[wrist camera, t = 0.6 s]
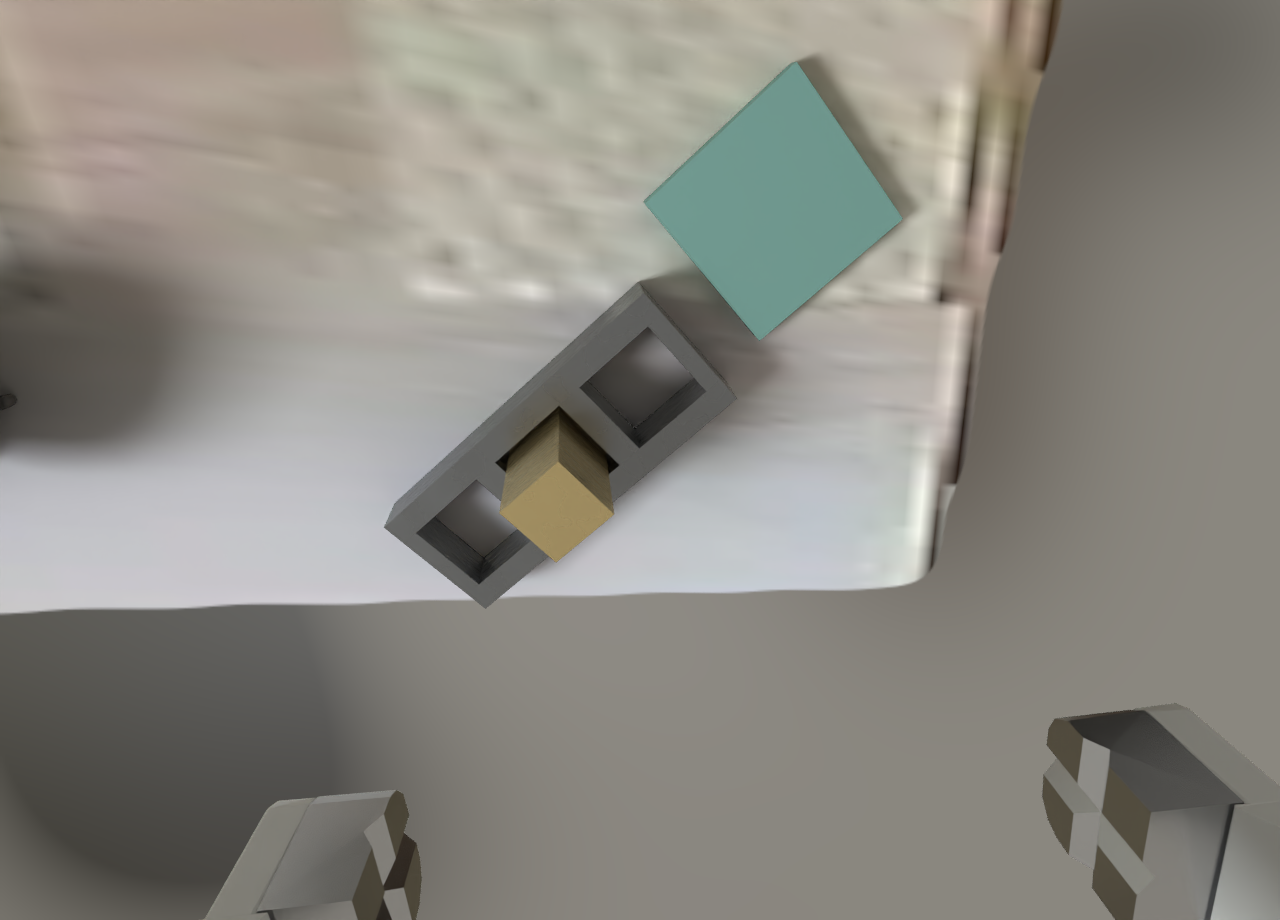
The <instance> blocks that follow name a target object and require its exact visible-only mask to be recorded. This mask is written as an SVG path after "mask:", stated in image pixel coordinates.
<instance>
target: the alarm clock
mask: <svg viewBox="0 0 1280 920" xmlns="http://www.w3.org/2000/svg"><path fill="white" fill-rule="evenodd" d="M15 403H16V397H15V396H14V395H10V394H8V395H4V396H0V410H1V409H5V408H8V407H11V406H12V405H14V404H15Z"/></svg>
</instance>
